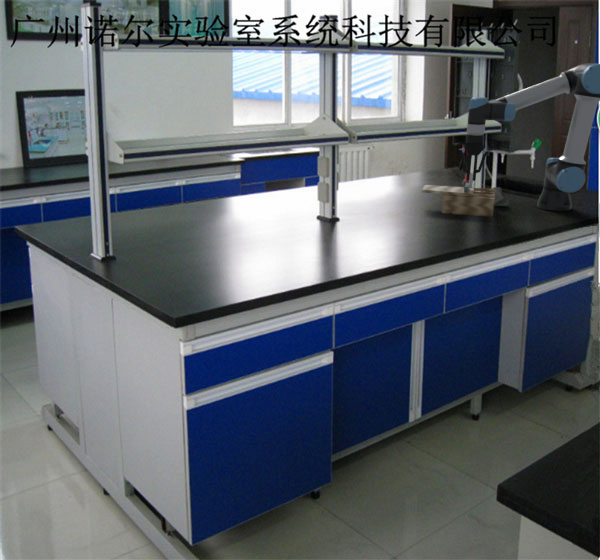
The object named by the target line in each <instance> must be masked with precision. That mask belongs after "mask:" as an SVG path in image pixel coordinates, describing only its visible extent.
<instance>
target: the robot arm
mask: <svg viewBox="0 0 600 560" xmlns="http://www.w3.org/2000/svg"><path fill="white" fill-rule="evenodd" d="M564 93H565V94H572V93H573V95H574V97H575V99H576V101H575V104H574V109H573V113H572V116H571V121H570V125H569V128H568V132H567V138H566V141H565V145H564V150H563V153H562V155H560V157H548V158H547V159H546V164H545V169H544V171H545V173H544V179H543V187H542V188H543V189H542V191H541V194H540V195H539V198H538V200H537V201H536V202H537V204H536V207H537V208H539V209H543V210H548V211H554V212H567V211H571V210H572V208H573V203H572V198H571V197H572V196H571V194H570V193H576V192H577V191H579V190H580V189H582V187H583V186H584V184H585V183H586V173H585V169H586V164H587V162H586V161H585V159H584V158H585V154H586V150H587V147H588V142H589V140H590V139H589V138H590V133H591V130H592V126H593V123H594V120H595V119H594V118H595V113H596V110H597V107H598V103H599V102H600V63H591V62H585V63H581V64H579V65H576V66H574V67H572V68H569V69H567V70H565V71H562V72H561V73H560V75H559V76H555V77H552V78H550V79H547V80H545V81H543V82H540V83H537V84H534V85H532V86H529V87H527V88H523V89H520V90H519V91H515V92H513V93H509V94H508V95H504V96H502V97H499V98H497V99H496V98H495V99H490V100H489V99H488V97H482V96H473V97H471V98H470V99H469V105H468V113H467V114H468V116H467V125H466V135H465V136H466V137H465V143H464V146H463V147H462V148H459V149H458V153H459V154H460V158H461V164H462V166H461V167H462V170H463V171H462V172H465V173H466V181H468V183H469V187H468V188H473V182H474V181H476V180H477V179H476V178H477V174H479V173H481V171H482V168H483V166H484V163H485V159H486V157H487V156H488V154H489V150H487V149H486V148H485V145H484V141H485V139H484V138H485V135H484V134H485V130H486V121H498V122H499V121H503V122H511V121H513V120H514V119H515V117H516V113H517V111H519V110H521V109H523V108H524V109H525V108H526V107H529V106H532V105H534V104H535V105H536V104H537V103H540V102H542V101H545V100H549V99H550V98H553V97H557V96H559V95H562V94H564ZM465 151H466V154H467V155H468V158H467V159H468V162H467V166H466V158H465ZM481 153H482V154H483V155H482V156H481V160H480V163H479V166H478V158H479V155H481ZM473 156H474V160H473V161H474V162H473V171H472V172H471V167H472V158H473ZM477 166H478V168H477Z"/></svg>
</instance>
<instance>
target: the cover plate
mask: <svg viewBox="0 0 600 560" xmlns="http://www.w3.org/2000/svg"><path fill="white" fill-rule="evenodd" d="M448 186H449V185H435V184H434V185H432V184H424V186H423V187H422V189H421V193H426V194H439V195H443V191H446V192H460V193H473V192H474V188H475V187H472V188H468V187H469V182H465V184H464V186H457V187H448ZM463 187H464V188H463Z"/></svg>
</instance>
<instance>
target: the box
mask: <svg viewBox="0 0 600 560" xmlns="http://www.w3.org/2000/svg"><path fill="white" fill-rule="evenodd" d="M447 186H448V187H458V186H455V185H447ZM462 187H463V188H464V187H465V186H462ZM473 188H474V192H473V193H460V192H446V191H443V194H442V201H441V214H450V213H452V215H464V216H475V217H476V216H477V217H491V218H493V216H494V207H495V206H494V199H495V193H493V192H495V189H491V188H483V187H473Z"/></svg>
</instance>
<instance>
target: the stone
mask: <svg viewBox="0 0 600 560" xmlns="http://www.w3.org/2000/svg"><path fill="white" fill-rule="evenodd" d="M490 189H495V192H493V193H495V199H494V207H506V206H507V205H508V204H509V203H510V202H509V200H508V197H507V196H506V193H504V192H503V190H502V187H501V186H499V187H498V186H496V187H495V186H494V187H491V188H490Z"/></svg>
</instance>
